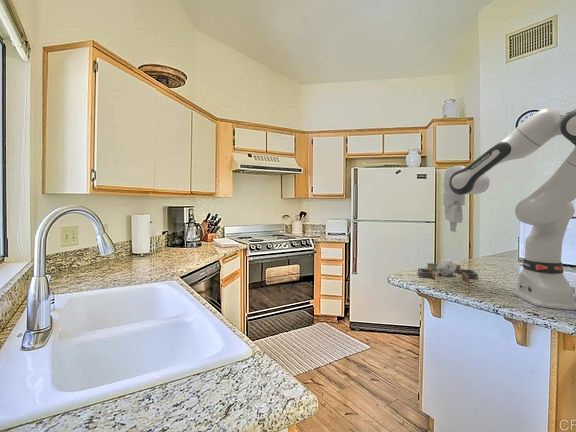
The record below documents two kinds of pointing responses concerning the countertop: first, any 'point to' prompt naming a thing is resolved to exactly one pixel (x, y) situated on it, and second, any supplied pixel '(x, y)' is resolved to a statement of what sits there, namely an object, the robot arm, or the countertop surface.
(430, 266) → the trap lane
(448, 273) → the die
